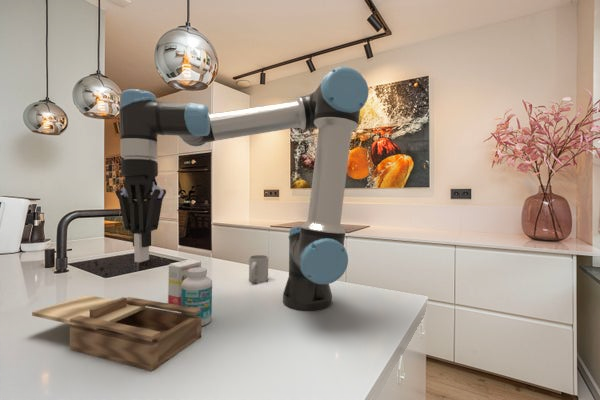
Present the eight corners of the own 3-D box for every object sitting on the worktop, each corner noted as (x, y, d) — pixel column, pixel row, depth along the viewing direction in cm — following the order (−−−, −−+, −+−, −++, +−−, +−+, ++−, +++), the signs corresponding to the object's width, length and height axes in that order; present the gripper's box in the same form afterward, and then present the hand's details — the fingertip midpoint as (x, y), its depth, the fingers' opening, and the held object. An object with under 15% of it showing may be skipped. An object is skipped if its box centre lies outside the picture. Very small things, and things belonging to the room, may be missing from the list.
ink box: (178, 307, 85) (178, 266, 84) (167, 304, 87) (167, 264, 87) (201, 298, 92) (201, 260, 92) (190, 295, 95) (191, 258, 94)
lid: (145, 308, 71) (145, 297, 71) (96, 330, 60) (96, 316, 60) (86, 297, 78) (86, 287, 78) (32, 315, 67) (31, 303, 67)
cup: (270, 278, 115) (271, 255, 114) (261, 286, 105) (261, 261, 105) (253, 277, 116) (253, 254, 116) (242, 284, 107) (242, 260, 106)
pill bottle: (182, 331, 70) (182, 274, 70) (179, 319, 77) (179, 267, 76) (214, 325, 73) (214, 271, 73) (209, 314, 80) (209, 264, 80)
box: (201, 336, 67) (201, 308, 67) (152, 371, 54) (152, 336, 54) (128, 322, 75) (128, 296, 74) (69, 349, 61) (69, 318, 61)
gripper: (174, 160, 70) (176, 259, 70) (132, 162, 74) (134, 255, 75) (148, 156, 63) (151, 266, 63) (103, 159, 67) (106, 262, 67)
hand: (141, 260), depth 69 cm, fingers closed
